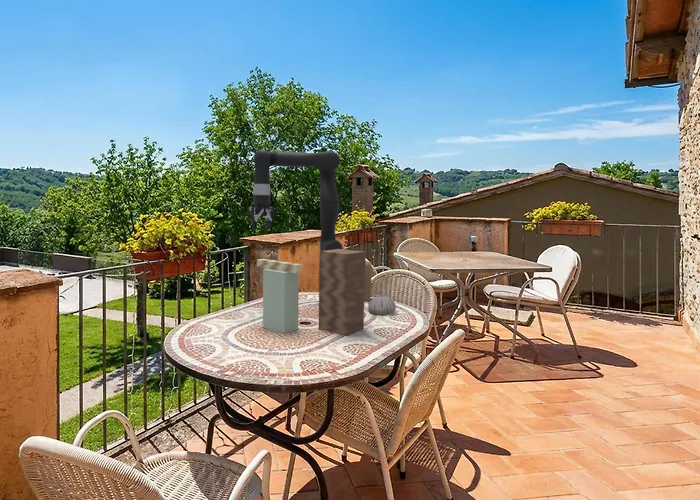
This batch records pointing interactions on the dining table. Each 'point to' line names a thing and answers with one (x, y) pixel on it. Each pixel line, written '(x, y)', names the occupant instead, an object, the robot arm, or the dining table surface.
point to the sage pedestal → (280, 300)
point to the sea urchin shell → (382, 305)
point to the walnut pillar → (341, 291)
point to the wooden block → (367, 281)
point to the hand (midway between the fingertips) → (261, 229)
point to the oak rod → (279, 265)
